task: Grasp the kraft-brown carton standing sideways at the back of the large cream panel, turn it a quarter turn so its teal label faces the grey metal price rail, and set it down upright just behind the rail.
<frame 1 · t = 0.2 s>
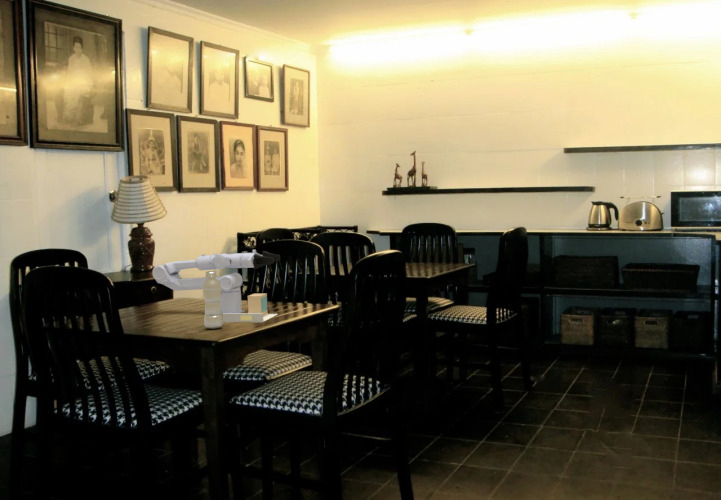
hand: (276, 259, 282), 21 cm above the table, tool horizontal, fingers open, 7 cm apart
large cream panel: (251, 319, 272), on the table
plastic bottle: (213, 329, 256), on the table
kraft carton: (258, 315, 276), point 1 cm above the table, touching large cream panel
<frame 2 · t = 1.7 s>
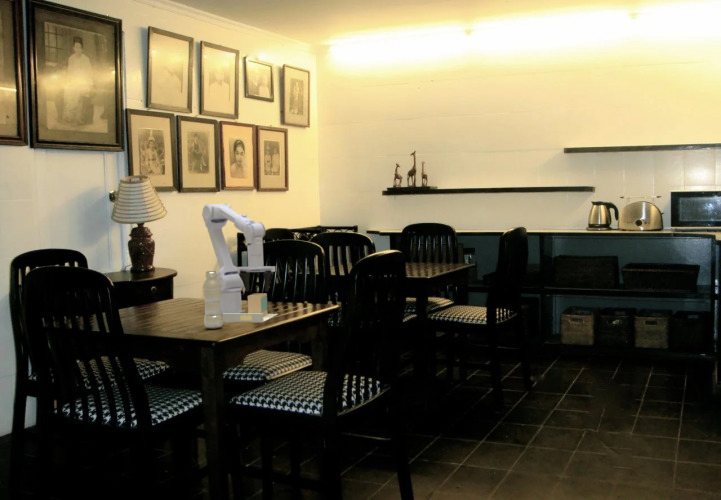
hand: (257, 291, 276), 10 cm above the table, tool pointing down, fingers open, 7 cm apart
nothing on the table moved.
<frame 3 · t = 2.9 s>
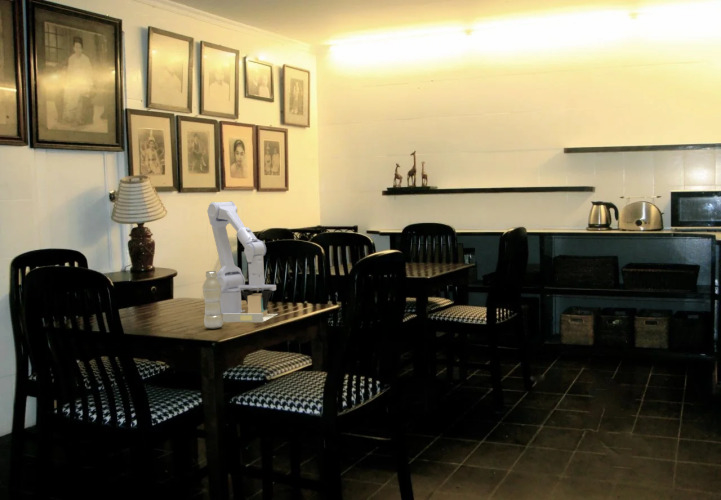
hand: (257, 309, 276), 3 cm above the table, tool pointing down, fingers closed on kraft carton, 5 cm apart
kraft carton: (257, 315, 277), point 1 cm above the table, touching gripper
everything else where it was.
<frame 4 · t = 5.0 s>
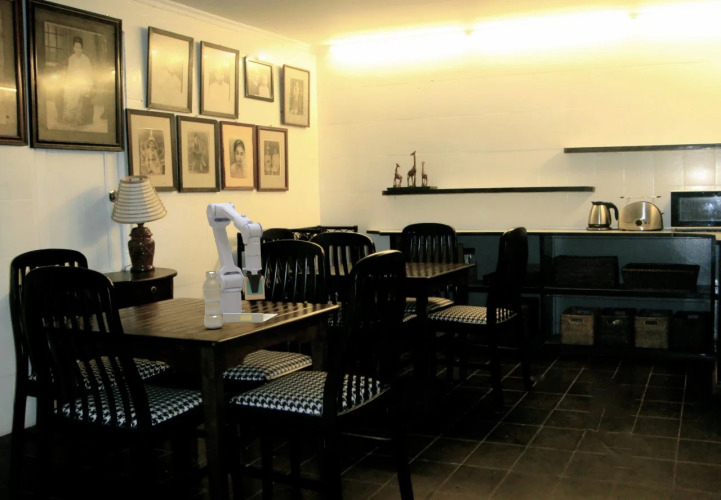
hand: (254, 292, 273), 10 cm above the table, tool pointing down, fingers closed on kraft carton, 5 cm apart
kraft carton: (254, 298, 273), point 8 cm above the table, touching gripper
everything else where it was.
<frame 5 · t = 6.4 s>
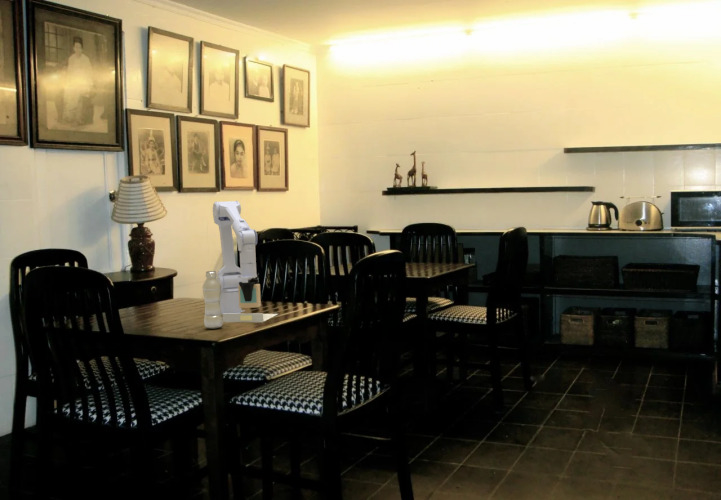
hand: (249, 300, 268), 8 cm above the table, tool pointing down, fingers closed on kraft carton, 5 cm apart
kraft carton: (250, 306, 268), point 5 cm above the table, touching gripper
everything else where it was.
when the fingers open (4 cm above the table, at t = 7.6 s): kraft carton drops 1 cm, resting on large cream panel.
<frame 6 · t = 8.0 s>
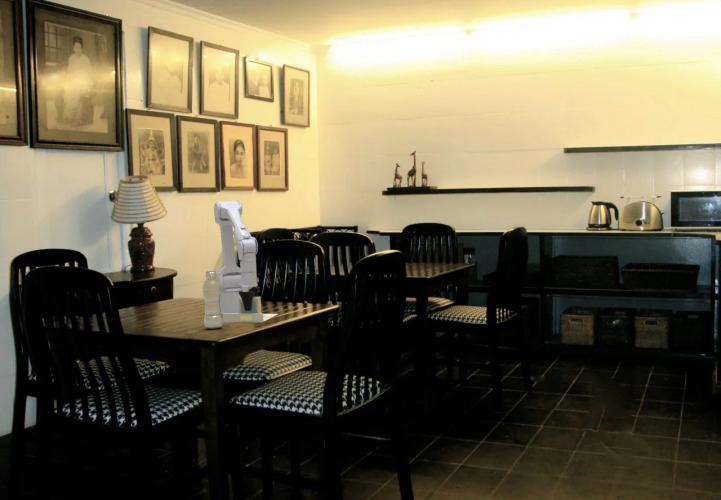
hand: (250, 308, 268), 5 cm above the table, tool pointing down, fingers open, 7 cm apart
kraft carton: (250, 319, 269), point 1 cm above the table, touching large cream panel
everything else where it was.
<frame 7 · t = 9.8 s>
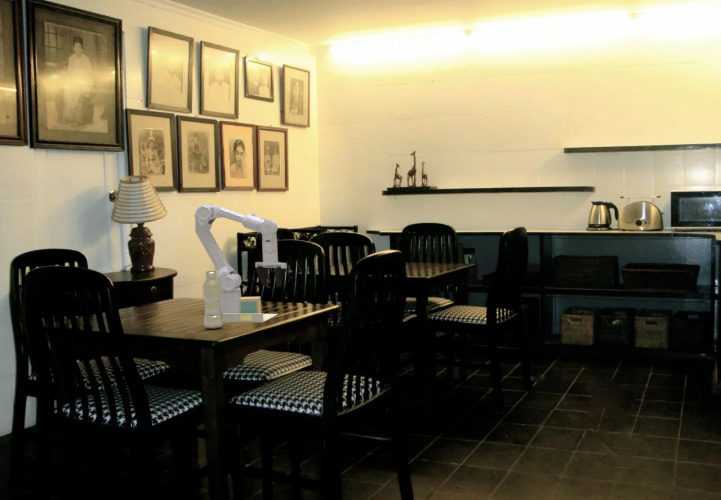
hand: (271, 286, 286), 10 cm above the table, tool pointing down, fingers open, 7 cm apart
nothing on the table moved.
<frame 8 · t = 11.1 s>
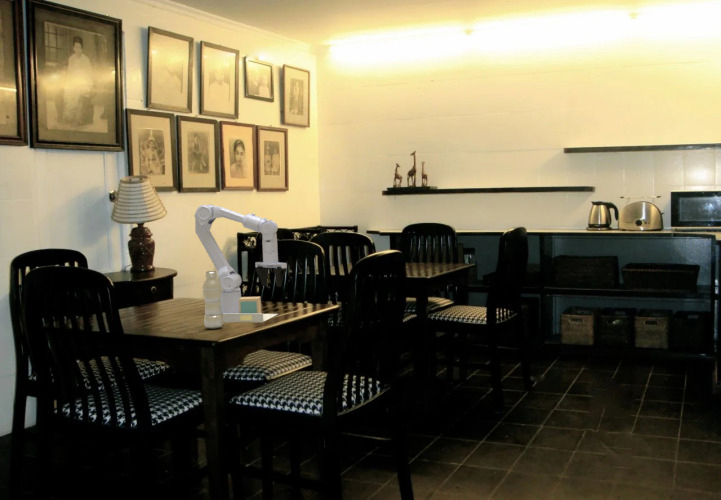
hand: (271, 286, 286), 10 cm above the table, tool pointing down, fingers open, 7 cm apart
nothing on the table moved.
at the end: kraft carton 0.1 cm from the target spot, point 0.6 cm above the table; kraft carton tilted 0°; the gripper is holding nothing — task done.
